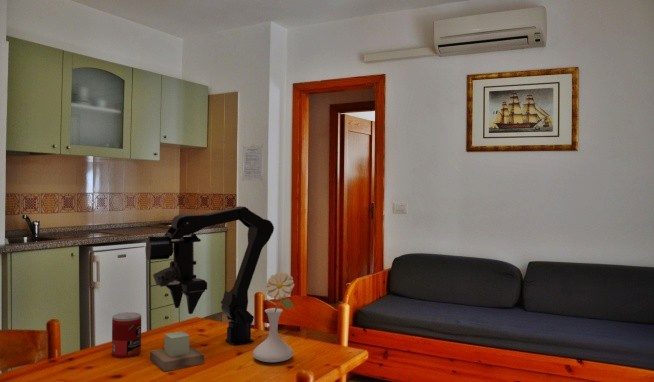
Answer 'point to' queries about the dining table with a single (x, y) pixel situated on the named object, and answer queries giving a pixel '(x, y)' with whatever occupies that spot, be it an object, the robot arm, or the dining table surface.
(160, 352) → the base
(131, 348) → the canned food
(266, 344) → the flower in vase
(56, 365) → the dining table surface
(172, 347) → the cube
